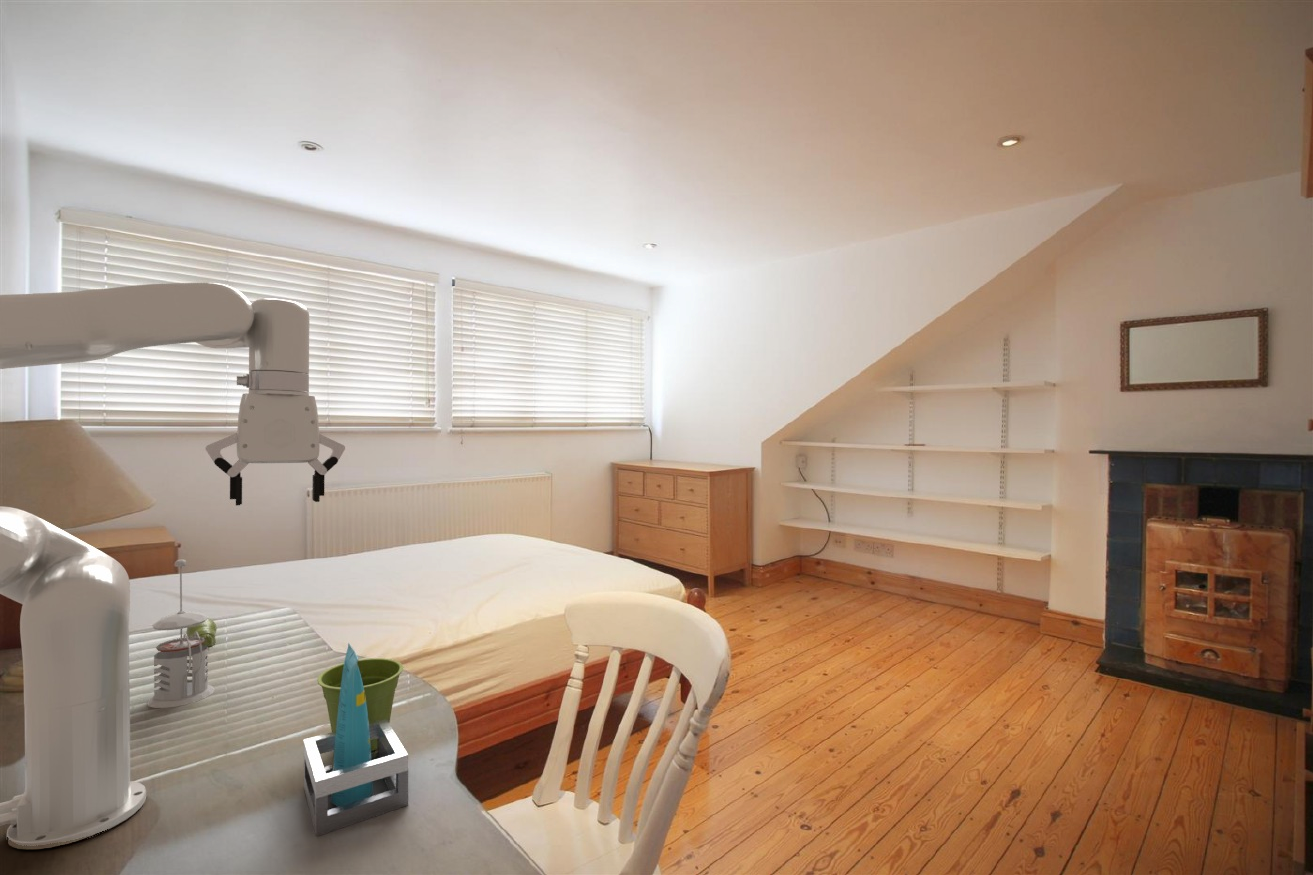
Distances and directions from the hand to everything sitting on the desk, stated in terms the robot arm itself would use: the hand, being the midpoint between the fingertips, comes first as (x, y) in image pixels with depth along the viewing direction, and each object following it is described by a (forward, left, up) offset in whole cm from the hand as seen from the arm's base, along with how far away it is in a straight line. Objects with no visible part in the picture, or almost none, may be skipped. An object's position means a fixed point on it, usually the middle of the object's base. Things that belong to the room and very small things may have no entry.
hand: (278, 502), depth 90 cm
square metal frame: (+7, -17, -38) cm, 42 cm away
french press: (-12, +35, -38) cm, 53 cm away
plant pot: (+11, -2, -38) cm, 39 cm away
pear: (-10, +69, -38) cm, 80 cm away
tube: (+7, -17, -38) cm, 42 cm away
